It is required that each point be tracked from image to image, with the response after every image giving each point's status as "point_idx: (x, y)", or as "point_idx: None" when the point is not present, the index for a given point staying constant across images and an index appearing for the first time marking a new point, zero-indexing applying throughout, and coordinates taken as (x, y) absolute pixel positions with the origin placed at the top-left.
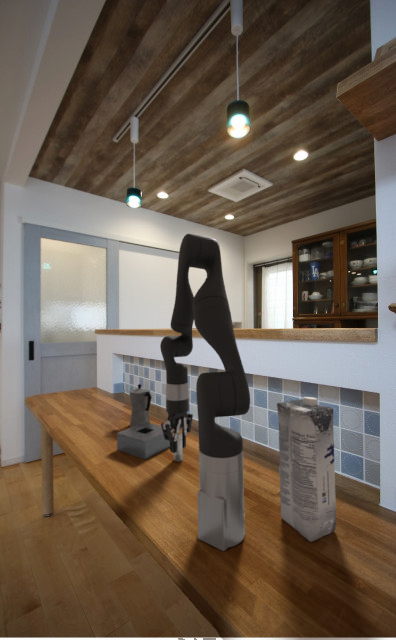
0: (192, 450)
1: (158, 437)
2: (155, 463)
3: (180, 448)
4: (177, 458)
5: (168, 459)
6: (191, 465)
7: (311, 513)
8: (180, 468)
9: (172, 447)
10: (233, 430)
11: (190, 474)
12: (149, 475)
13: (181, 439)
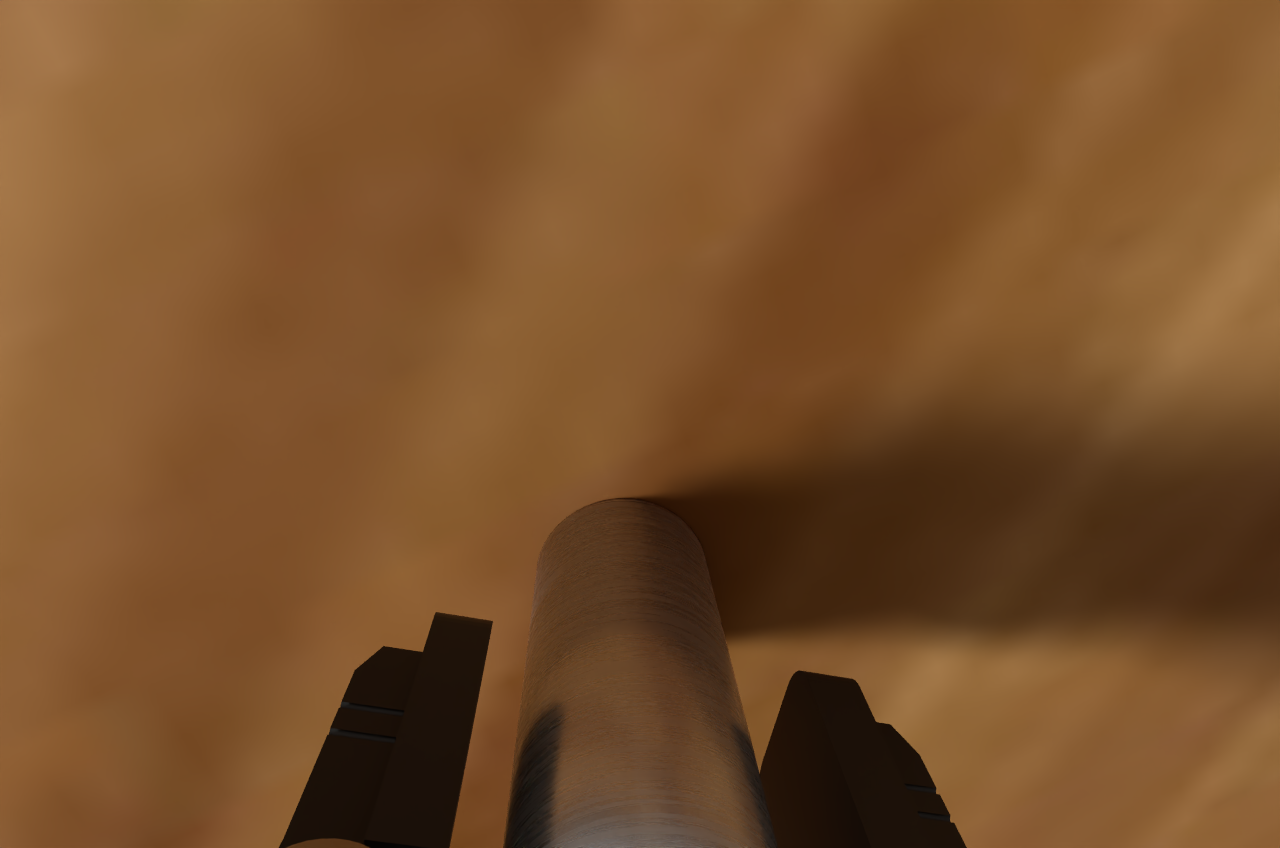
0: (96, 507)
1: None
2: None
3: (696, 661)
4: (710, 585)
5: None
6: (767, 227)
7: None
8: (948, 381)
9: (939, 828)
10: None
11: (1146, 77)
12: (1274, 716)
13: (683, 839)
